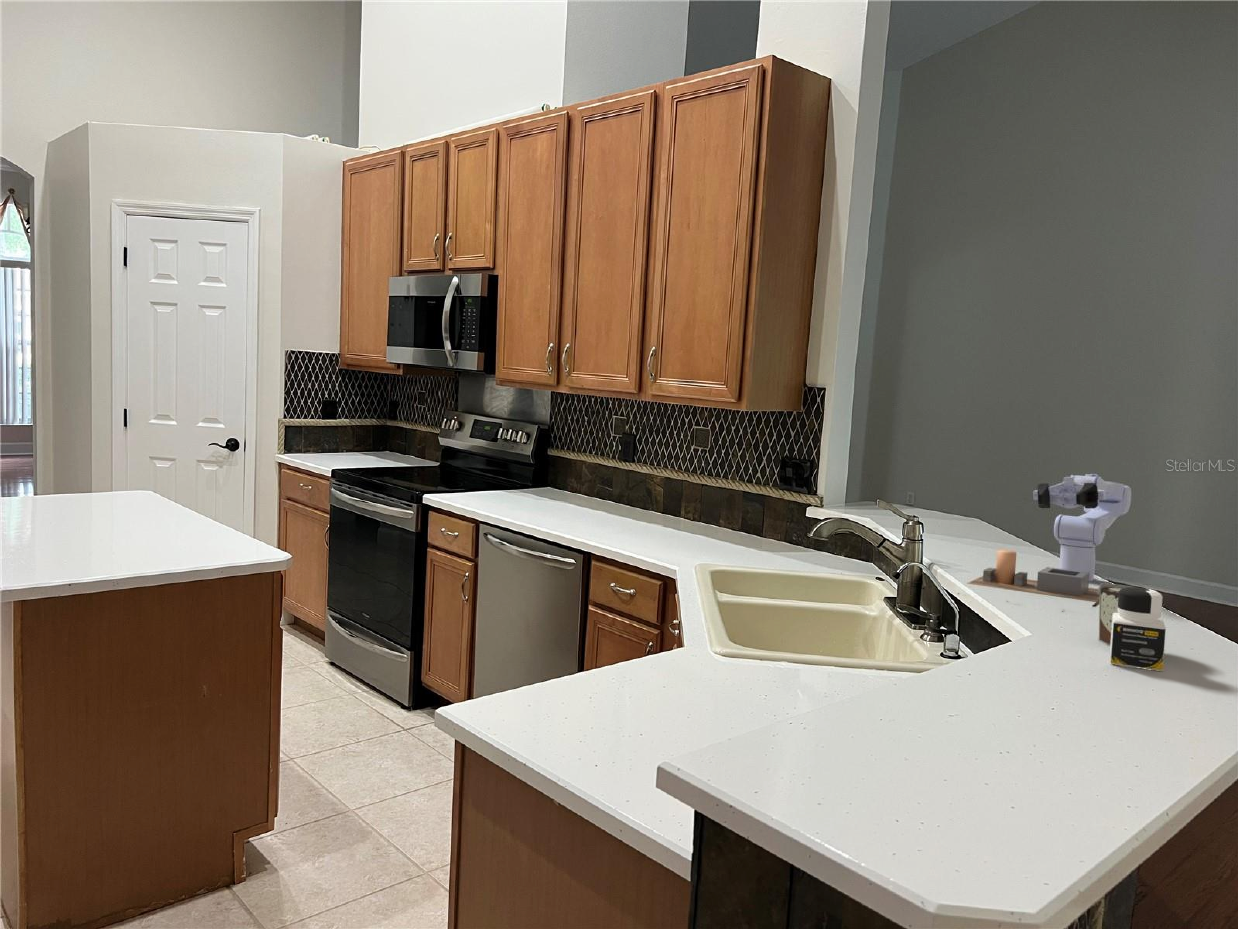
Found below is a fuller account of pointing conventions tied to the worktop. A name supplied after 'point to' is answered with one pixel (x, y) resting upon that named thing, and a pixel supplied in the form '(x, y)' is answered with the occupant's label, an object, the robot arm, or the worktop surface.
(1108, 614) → the food container
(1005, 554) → the peg
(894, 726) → the worktop surface
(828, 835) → the worktop surface
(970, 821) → the worktop surface
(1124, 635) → the medicine bottle
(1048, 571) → the socket
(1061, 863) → the worktop surface
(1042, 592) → the dock board
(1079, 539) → the robot arm
